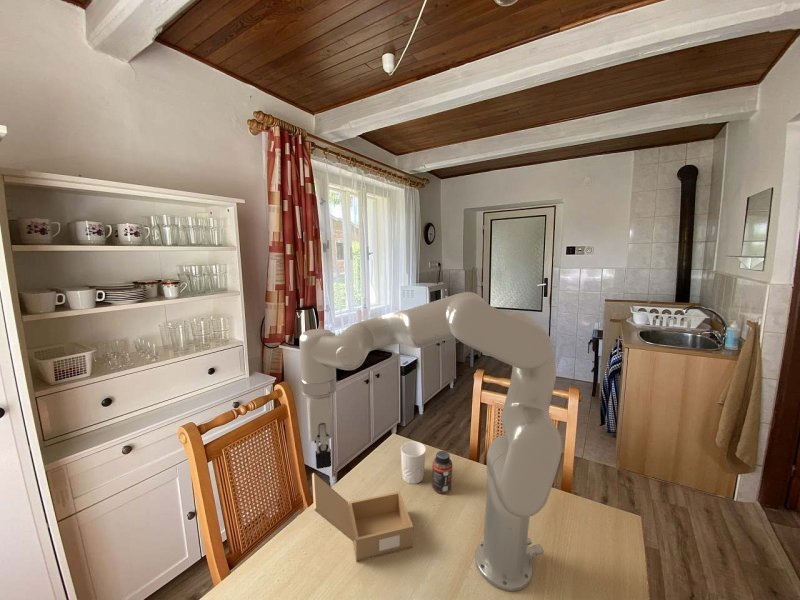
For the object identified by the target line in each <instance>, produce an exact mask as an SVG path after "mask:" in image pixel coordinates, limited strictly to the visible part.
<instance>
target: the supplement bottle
mask: <svg viewBox="0 0 800 600" xmlns="http://www.w3.org/2000/svg"><path fill="white" fill-rule="evenodd" d="M450 457H451V456H450V453H449V452H447V451H445V450H438V451H437V452H436V456H435V458H433V460H432V471H431V472H432V474H431V476H432V477H431V487H432V489H433V491H434V492H436V493H437V494H441V495H442V494H443V495H444V494H447V493H449V492H451V490H452V484H453V483H452V480H453V479H452V478H453V477H452V476H453V461H452V459H450Z"/></svg>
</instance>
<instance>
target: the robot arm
mask: <svg viewBox="0 0 800 600" xmlns="http://www.w3.org/2000/svg"><path fill="white" fill-rule="evenodd" d="M451 339H457V340H458V341H459V342H461V343H462V344H464V345H467V346H468V347H469V348H472V349H474V350H476V351H478V352H480V353H482V354H485V355H487V356H489V357H492V358H494V359H496V360H498V361H500V362H502V363H505V364H507V365H510V366H512V367H511V368H512V371H511V376H510V381H509V382H510V383H509V386H508V390H507V393H506V396H505V400H504V403H503V404H504V405H503V408H502V411H501V418H500V419H501V424H502V429H503V431H504V434H501V435H499V436H497V437H495V438H494V440H492V442H491V443H490V445H489V446H488V450H487V454H486V499H485V514H484V528H483V540H482V541H481V542H480V543H479V544H478V546H477V547H476V551H475V563H476V566H477V569H478V571H479V573H480V574H481V575H482V577H483V578H484V579H485V580H486V581H487V582H488V583H490V584H491V585H492V586H495V587H496V588H499V589H500V590H503V591H513V592H515V591H520V590H522V589H525V587H527V586H528V585H529V584H530V582H531V578H532V575H533V566H532V561H531V560H532V559H533V557H535V556H536V557H537V556H540V555H543V554H544V549H543V548H544V547H543V546H542V545H541V544H540V543H539V544H534V545H532V544H533V543H532V539H531V538H530V537H529V528H530V527H529V526H530V517H533V516H535V515H537V514H538V513H539V512H540V511H541V510H542V509H543V508H544V507H545V505H546V504H547V502H548V499H549V496H550V493H551V491H552V488H553V484H554V480H555V478H556V474H557V472H558V471H557V470H558V468H559V464H560V460H561V458H562V457H561V456H562V451H563V450H562V447H563V445H562V437H561V434H560V432H559V430H558V428H557V426H556V425H555V423H554V422H553V420H552V418H551V416H550V406H551V401H552V398H553V392H554V388H555V383H556V378H557V363H556V358H555V354H554V353H555V352H554V350H553V342H552V338H551V337H550V335H549V334H548V332H547V331H546V330H545V328H543V327H542V326H540V325H539V324H538V323H537V322H536V321H535V320H533V318H532V317H530V316H529V315H527V314H525V313H521V312H520V311H511V312H504V311H503V310H501V309H498V308H496V307H494V306H492V305H491V304H489V303H487V302H486V301H485V300H484V298H483V297H482V296H480V295H479V294H477V293H475V292H473V291H472V292H471V291H464V292H459V293H455V294H453V295H450V296H445V297H444V298H443V297H442V298H440V299H438V300H434V301H431V302H428V303H425V304H422V305H418V306H414V307H412V308H409V309H408V308H407V309H405V310H399V311H395V312H391V313H386V314H382V315H378V316H375V317H371V318H368V319H365V320H362V321H359V322H356V323H354V324H351V325H350V326H348V327H347V328H346V329H345V330H343V331H342V333H340V334H338V335H334V333H333V332H332V331H331V330H328V329H324V328H316V329H309V330H305V331H304V332H302V333H301V334H300V335H299V359H300V376H301V377H300V378H301V379H300V380H301V394H302V395H303V396H304V397H305V398H306V404H307V405H306V408H307V425H308V426H307V427H308V440H309V441H310V442H311V443H312V442H314V444H316V445H315V447H316V450H315V465H316V466H315V467H316V469H317V470H319V469H326V468H330V467H332V451H331V446H330V439H331V438H332V436H333V403H332V402H333V401H332V400H333V399H332V395H334V394H335V393H336V392H337V369H338V370H344V371H354V370H356V369H358V368H359V367H361V366H362V365H363V363H364V362H365V360H366V358H367V356H368V354H369V353H370V352H371V351H374V350H378V349H380V348H384V347H389V346H393V345H404V346H408V347H411V348H414V349H422V348H424V347H428V346H431V345H434V344H437V343H442V342H444V341H447V340H451ZM531 545H532V546H531Z"/></svg>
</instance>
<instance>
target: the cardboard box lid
mask: <svg viewBox="0 0 800 600" xmlns="http://www.w3.org/2000/svg"><path fill="white" fill-rule="evenodd" d="M311 480H312V481H311V482H312V496H313V497H312V498H313V499H312V500H313V511H314V512H315V513H317V514H318V515H320V516H321V517H322V518H323V519H325V520H326V521H327V522H328V523H329V524H331V525H332V526H333V527H334V528H336V530H338V531H339V532H341V533H342V534H343V535H344V536H345V537H346V538H347V539H349V540H351V542H352V543H353V542H354V541H355V536H354V530H353V525H352V519H351V514H350V509H349V501H347V500H346V499H345V498H344V497H343V496H342V495H340V494H339V493H338V492H337V491H335V489H333V488H332V487H331V486H330V485H329V484H328V483H326V482H325V481H324V480H323V479H322V478H320V477H319V476H318V475H317V474H316V473H315V472H313V473H311Z"/></svg>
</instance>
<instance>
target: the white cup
mask: <svg viewBox="0 0 800 600" xmlns="http://www.w3.org/2000/svg"><path fill="white" fill-rule="evenodd" d="M426 452H427V448H426V446H425V445H424V444H423V443H422V442H420V441H419V442H418V441H416V440H415V441H414V440H413V441H406V442H403V444H402V445H401V446H400V463H401V477H402V479H403V481H404V482H405V483H407V484H412V485H416V484H419V483H421V482H422V481H423V479H424V473H425V464H426V455H427V453H426Z"/></svg>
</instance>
